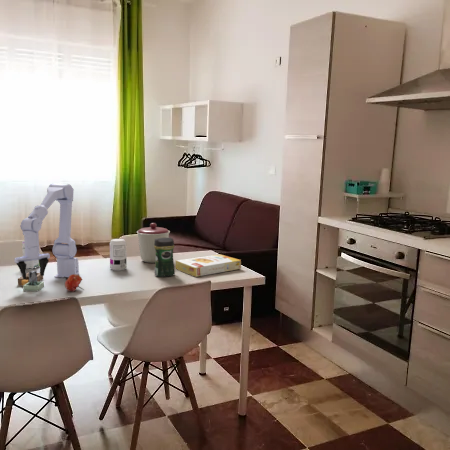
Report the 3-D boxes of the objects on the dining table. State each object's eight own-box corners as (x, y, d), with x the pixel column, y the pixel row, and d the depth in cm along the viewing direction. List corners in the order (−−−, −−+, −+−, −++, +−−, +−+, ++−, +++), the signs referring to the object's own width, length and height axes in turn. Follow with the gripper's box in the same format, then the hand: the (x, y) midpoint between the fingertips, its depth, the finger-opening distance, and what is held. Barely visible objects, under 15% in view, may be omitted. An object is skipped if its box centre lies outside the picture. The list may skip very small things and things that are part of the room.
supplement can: (106, 269, 241) (106, 240, 239) (116, 266, 248) (115, 238, 246) (120, 271, 238) (119, 242, 236) (129, 267, 245) (129, 239, 243)
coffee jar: (171, 272, 238) (171, 235, 235) (176, 276, 231) (176, 238, 228) (152, 274, 234) (152, 236, 231) (156, 278, 227) (156, 239, 224)
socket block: (43, 279, 222) (42, 272, 221) (33, 285, 211) (33, 279, 210) (28, 278, 222) (27, 272, 221) (18, 285, 211) (17, 278, 210)
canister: (172, 263, 256) (172, 225, 252) (138, 265, 251) (137, 226, 248) (167, 256, 273) (167, 220, 270) (135, 258, 268) (135, 221, 265)
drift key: (33, 282, 215) (33, 277, 215) (28, 286, 210) (27, 280, 210) (27, 282, 215) (26, 276, 215) (21, 286, 210) (21, 280, 210)
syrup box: (33, 269, 239) (32, 241, 237) (23, 268, 240) (21, 240, 238) (40, 266, 245) (38, 239, 242) (29, 266, 246) (28, 238, 244)
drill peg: (36, 285, 209) (35, 270, 208) (38, 287, 206) (37, 271, 205) (28, 286, 207) (28, 271, 206) (30, 288, 205) (29, 272, 204)
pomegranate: (81, 292, 209) (62, 279, 207) (90, 280, 208) (71, 267, 206) (76, 299, 202) (57, 286, 200) (86, 286, 201) (66, 273, 199)
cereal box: (241, 259, 245) (195, 266, 229) (241, 270, 246) (195, 277, 229) (218, 253, 261) (174, 259, 245) (218, 263, 262) (174, 269, 245)
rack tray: (44, 286, 210) (43, 281, 209) (38, 290, 203) (38, 285, 203) (29, 286, 210) (29, 281, 209) (23, 290, 203) (23, 285, 203)
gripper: (44, 242, 212) (45, 272, 214) (10, 246, 202) (12, 277, 204) (51, 244, 207) (52, 275, 209) (17, 249, 197) (19, 281, 199)
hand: (33, 276), depth 206 cm, fingers open, 7 cm apart
